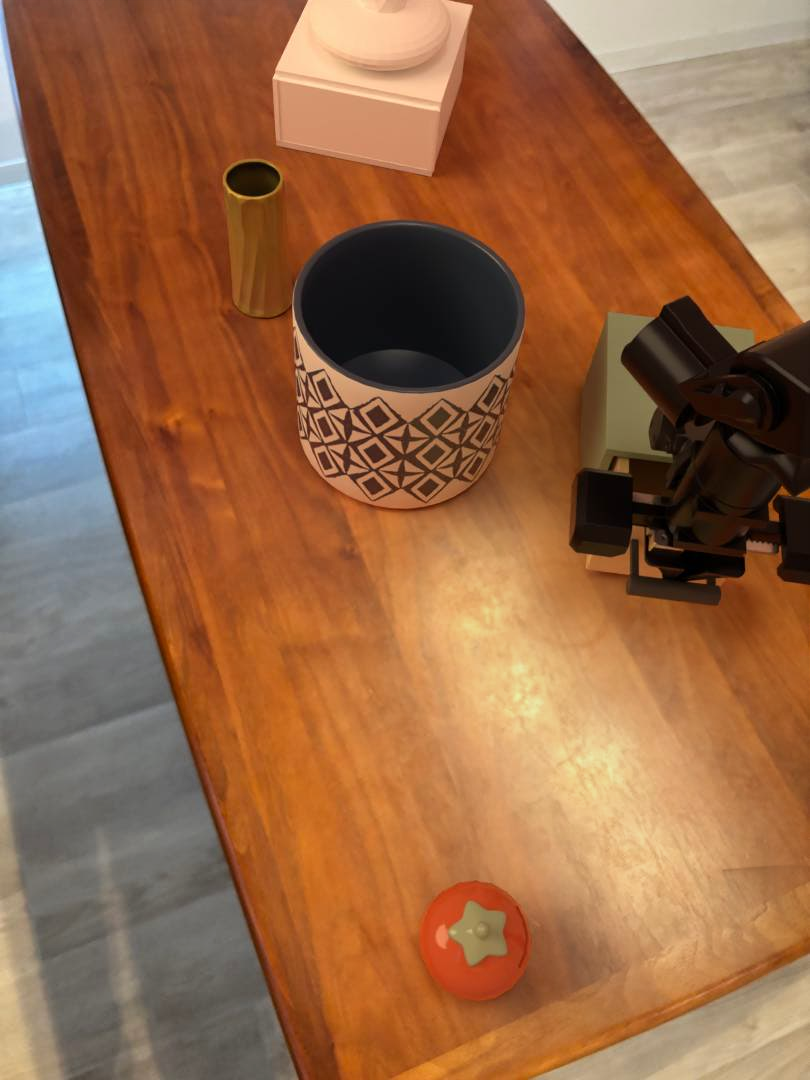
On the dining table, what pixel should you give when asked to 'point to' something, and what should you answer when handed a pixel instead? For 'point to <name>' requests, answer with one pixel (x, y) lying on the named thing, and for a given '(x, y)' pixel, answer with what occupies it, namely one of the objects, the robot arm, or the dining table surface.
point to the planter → (404, 360)
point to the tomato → (475, 940)
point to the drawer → (640, 575)
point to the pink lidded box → (372, 80)
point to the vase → (258, 238)
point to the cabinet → (624, 396)
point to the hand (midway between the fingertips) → (666, 577)
